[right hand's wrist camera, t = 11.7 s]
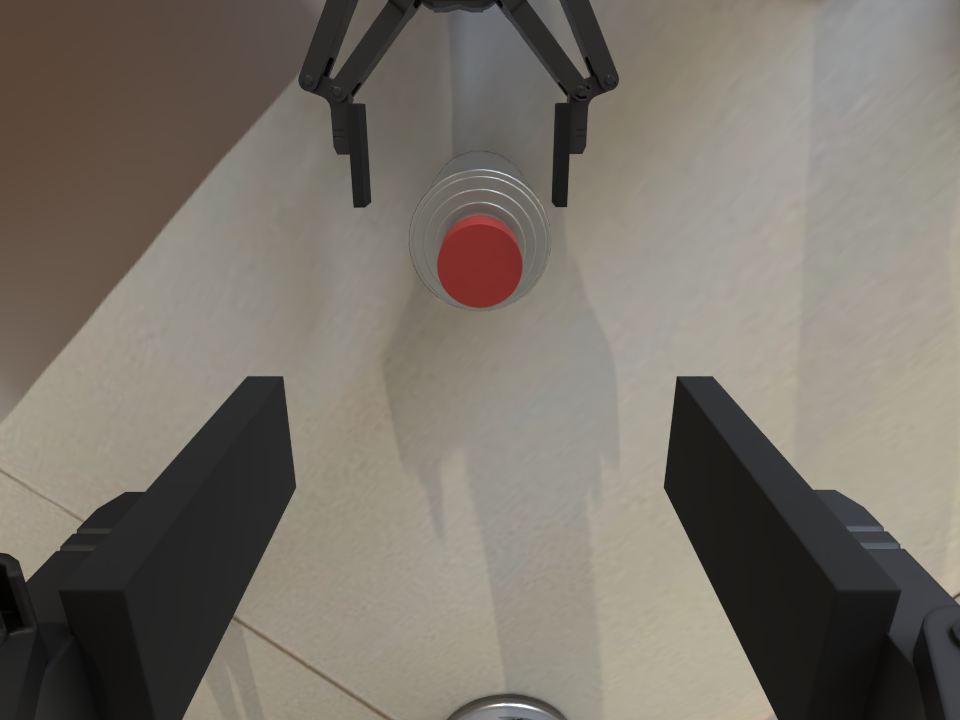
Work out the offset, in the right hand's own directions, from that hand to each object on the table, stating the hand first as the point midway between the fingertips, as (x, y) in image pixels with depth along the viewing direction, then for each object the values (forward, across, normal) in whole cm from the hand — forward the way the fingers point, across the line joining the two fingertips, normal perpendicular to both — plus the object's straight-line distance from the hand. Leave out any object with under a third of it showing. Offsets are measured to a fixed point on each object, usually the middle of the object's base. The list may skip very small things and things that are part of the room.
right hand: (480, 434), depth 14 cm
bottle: (+39, 0, 0) cm, 39 cm away
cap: (+17, 0, 0) cm, 17 cm away
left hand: (+33, -1, +1) cm, 33 cm away
